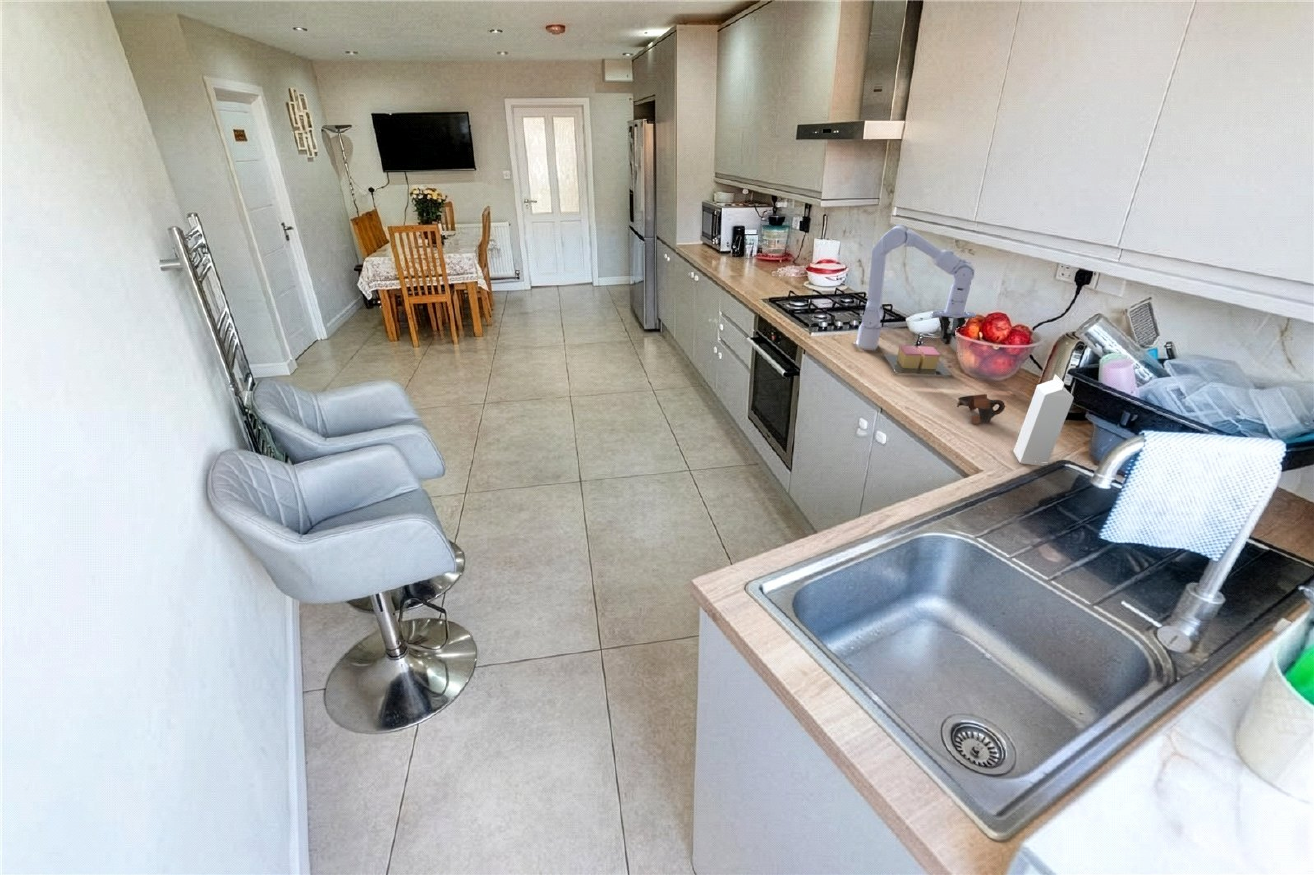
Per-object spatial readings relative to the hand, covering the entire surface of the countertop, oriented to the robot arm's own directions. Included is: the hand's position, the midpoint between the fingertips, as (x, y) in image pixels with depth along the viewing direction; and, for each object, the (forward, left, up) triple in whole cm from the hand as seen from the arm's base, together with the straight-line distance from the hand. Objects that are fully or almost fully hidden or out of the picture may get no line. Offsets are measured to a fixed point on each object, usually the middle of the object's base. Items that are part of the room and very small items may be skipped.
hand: (947, 338), depth 198 cm
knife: (+6, 0, -1) cm, 6 cm away
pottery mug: (+46, -5, -8) cm, 47 cm away
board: (+7, -11, -8) cm, 16 cm away
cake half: (+7, -14, -7) cm, 18 cm away
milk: (+69, -1, -8) cm, 70 cm away
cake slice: (+7, -8, -7) cm, 13 cm away
